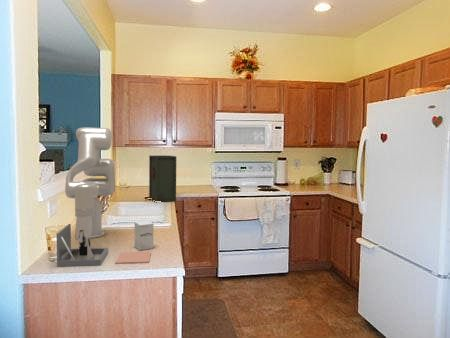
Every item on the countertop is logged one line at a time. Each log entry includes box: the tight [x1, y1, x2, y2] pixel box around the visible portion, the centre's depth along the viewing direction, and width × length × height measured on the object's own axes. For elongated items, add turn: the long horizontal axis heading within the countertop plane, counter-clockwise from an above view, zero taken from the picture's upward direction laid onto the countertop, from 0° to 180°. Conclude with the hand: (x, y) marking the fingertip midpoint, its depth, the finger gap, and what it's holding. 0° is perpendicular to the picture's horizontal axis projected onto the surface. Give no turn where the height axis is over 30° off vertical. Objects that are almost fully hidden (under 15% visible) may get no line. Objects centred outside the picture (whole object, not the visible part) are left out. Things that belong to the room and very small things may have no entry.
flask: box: [75, 238, 95, 260], centre depth 150 cm, size 7×7×10 cm
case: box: [56, 223, 109, 268], centre depth 150 cm, size 16×17×14 cm
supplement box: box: [134, 220, 154, 252], centre depth 168 cm, size 7×7×13 cm
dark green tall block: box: [148, 155, 177, 204], centre depth 304 cm, size 18×18×40 cm
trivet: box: [115, 250, 152, 265], centre depth 153 cm, size 14×14×1 cm
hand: (84, 252), depth 150 cm, fingers closed on flask, 4 cm apart
